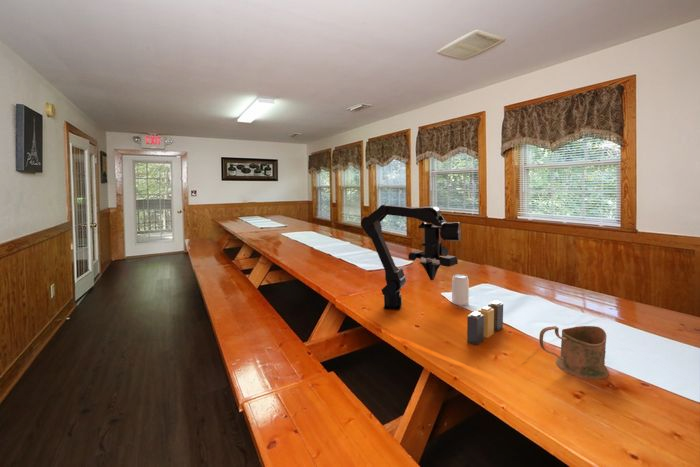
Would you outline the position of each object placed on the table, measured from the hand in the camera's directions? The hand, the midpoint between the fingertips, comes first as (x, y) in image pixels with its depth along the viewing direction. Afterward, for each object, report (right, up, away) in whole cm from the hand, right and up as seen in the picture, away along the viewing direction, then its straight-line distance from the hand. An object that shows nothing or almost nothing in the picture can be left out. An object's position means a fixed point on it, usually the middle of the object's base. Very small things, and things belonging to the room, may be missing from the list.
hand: (432, 280), depth 130 cm
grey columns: (+9, -15, -17) cm, 24 cm away
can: (+14, -11, +9) cm, 20 cm away
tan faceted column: (+12, -15, -20) cm, 28 cm away
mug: (+27, -18, -39) cm, 51 cm away
